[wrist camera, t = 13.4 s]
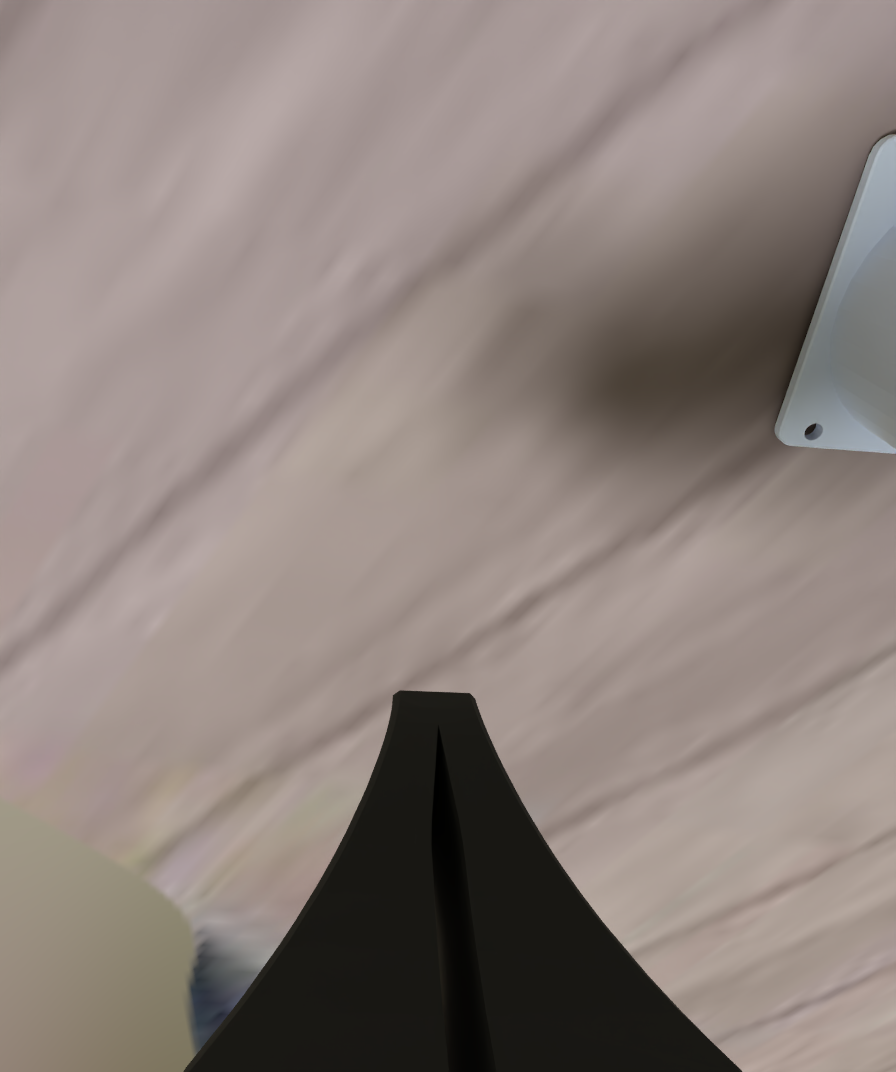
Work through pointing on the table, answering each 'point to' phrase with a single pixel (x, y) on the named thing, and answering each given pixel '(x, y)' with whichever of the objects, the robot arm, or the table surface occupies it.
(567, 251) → the table surface
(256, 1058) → the robot arm
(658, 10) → the table surface
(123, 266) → the table surface
